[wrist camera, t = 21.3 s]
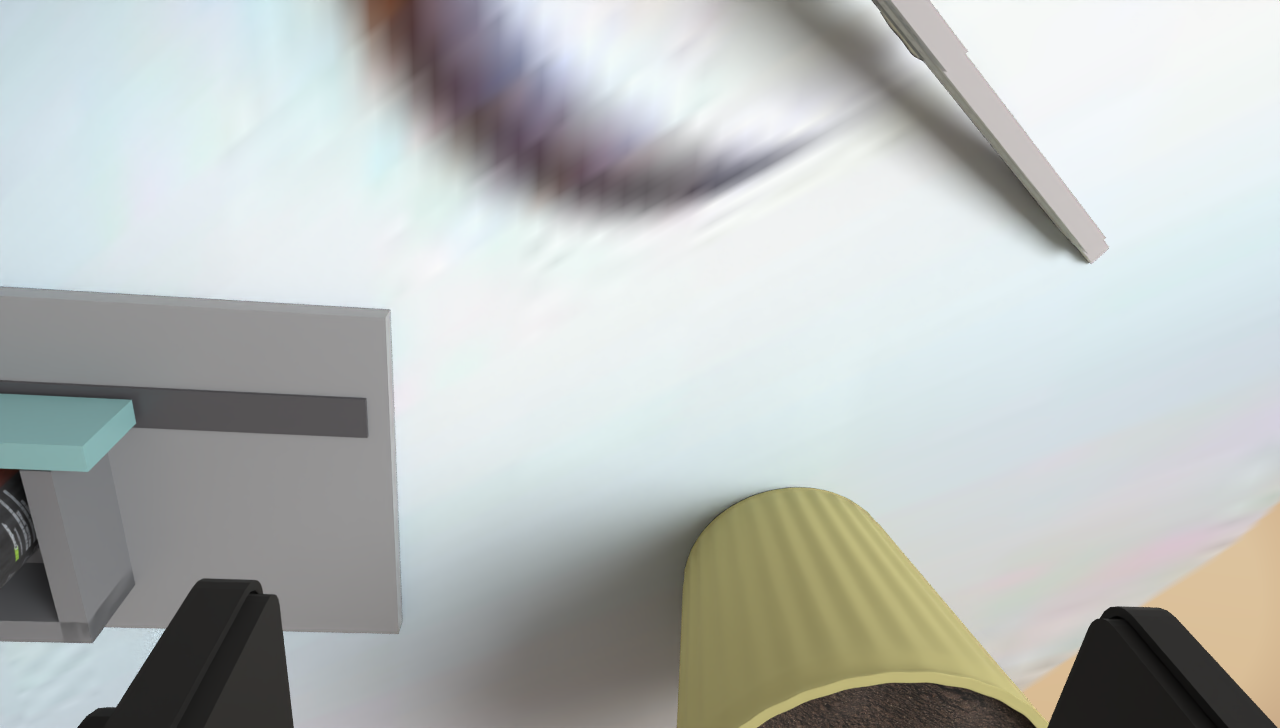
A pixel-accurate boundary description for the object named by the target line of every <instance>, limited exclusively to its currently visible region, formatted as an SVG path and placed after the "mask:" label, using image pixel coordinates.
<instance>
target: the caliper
mask: <svg viewBox="0 0 1280 728" xmlns="http://www.w3.org/2000/svg"><path fill="white" fill-rule="evenodd" d="M872 1H873V3H874V4H875V5H876V6H877V8H878V9H879V10H880V11H881V12H880V13H881V14H882V16H883V17H884V19H885V20H886V22H887V23H888V25H889V26H890V28H891V29H892V30H893V31H894V33H895V34H896V35H897V36H898V37H899V38H900V39H901V40H902V42H903V43H904V45H905V46H906V48H907V49H908V50H909V52H910V53H911V54H912V55H913V56H914V57H916V58H918V59H920V60H922V61H924V63H925V64H926V65H927V66H928V68H929V69H930V70H931V71H932V72H933V74H934V75H935V76H936V77H937V79H938V80H939V81H940V82H941V84H942V85H943V86H944V87H945V89H946V90H947V91H948V92H949V94H950V95H951V96H952V97H953V99H954V100H955V101H956V102H957V103H958V105H959V106H960V107H961V108H962V110H963V111H964V112H965V113H966V115H967V116H968V117H969V118H970V120H971V121H972V122H973V123H974V125H975V126H976V127H977V128H978V130H979V131H980V132H981V133H982V134H983V136H984V137H985V138H986V139H987V141H988V142H989V143H990V144H991V146H992V147H993V148H994V149H995V151H996V152H997V153H998V154H999V156H1000V157H1001V158H1002V159H1003V161H1004V162H1005V163H1006V164H1007V166H1008V167H1009V168H1010V169H1011V171H1012V172H1013V173H1014V174H1015V176H1016V177H1017V178H1018V179H1019V181H1020V182H1021V183H1022V184H1023V186H1024V187H1025V188H1026V189H1027V191H1028V192H1029V193H1030V194H1031V196H1032V197H1033V198H1034V199H1035V201H1036V202H1037V203H1038V204H1039V206H1040V207H1041V208H1042V209H1043V211H1044V212H1045V213H1046V214H1047V215H1048V217H1049V218H1050V219H1051V220H1052V222H1053V223H1054V224H1055V225H1056V226H1057V227H1058V228H1059V230H1060V231H1061V232H1062V233H1063V234H1064V235H1065V236H1066V237H1067V238H1068V240H1069V241H1070V242H1071V243H1072V244H1073V245H1075V246H1076V247H1077V249H1078V250H1079V251H1080V252H1081V254H1082V255H1083V256H1084V257H1085V259H1086V260H1087V261H1088V262H1089V263H1090V264H1092V263H1093V262H1094V261H1096V260H1097V259H1098V258H1099V257H1100V256H1101V255H1102V254H1103V253H1105V252H1106V251H1107V250H1108V249H1109V248H1108V247H1109V246H1108V245H1107V244H1106V242H1105V241H1104V239H1105V238H1106V237H1105V236H1104V235H1103V233H1102V232H1101V231H1100V229H1099V228H1098V227H1097V225H1096V224H1095V223H1094V221H1093V220H1092V219H1091V217H1090V216H1089V215H1088V213H1087V212H1086V211H1085V210H1084V208H1083V207H1082V206H1081V204H1080V203H1079V202H1078V200H1077V199H1076V198H1075V196H1074V195H1073V194H1072V192H1071V191H1070V190H1069V188H1068V187H1067V186H1066V185H1065V183H1064V182H1063V181H1062V179H1061V178H1060V177H1059V175H1058V174H1057V173H1056V171H1055V170H1054V169H1053V168H1052V166H1051V165H1050V164H1049V162H1048V161H1047V160H1046V158H1045V157H1044V156H1043V154H1042V153H1041V152H1040V150H1039V149H1038V148H1037V147H1036V145H1035V144H1034V143H1033V141H1032V140H1031V139H1030V137H1029V136H1028V135H1027V133H1026V132H1025V131H1024V130H1023V128H1022V127H1021V126H1020V124H1019V123H1018V122H1017V120H1016V119H1015V118H1014V116H1013V115H1012V114H1011V113H1010V111H1009V110H1008V109H1007V107H1006V106H1005V105H1004V103H1003V102H1002V101H1001V99H1000V98H999V97H998V96H997V94H996V93H995V92H994V90H993V89H992V88H991V86H990V85H989V84H988V82H987V81H986V80H985V79H984V77H983V76H982V75H981V73H980V72H979V71H978V69H977V68H976V67H975V65H974V64H973V63H972V61H971V60H970V59H969V58H968V56H967V55H966V53H967V52H968V51H967V49H966V48H965V47H964V45H963V44H962V43H961V41H960V40H959V39H958V38H957V36H956V35H955V34H954V32H953V31H952V30H951V28H950V27H949V26H948V24H947V23H946V22H945V20H944V19H943V18H942V16H941V15H940V14H939V12H938V11H937V10H936V8H935V7H934V6H933V4H932V3H931V2H930V0H872Z"/></svg>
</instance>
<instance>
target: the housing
mask: <svg viewBox="0 0 1280 728" xmlns="http://www.w3.org/2000/svg"><path fill="white" fill-rule="evenodd" d="M0 394H21V395H42V396H63V397H84V398H105V399H126V400H132V404H133V409H134V415H135V420H136V424H135V425H134V426H133V427H132V428H131V429H130V430H129V431H128V432H127V433H126V434H125V435H124V436H123V437H122V438H121V439H120V440H119V441H118V442H117V443H116V444H115V445H114V446H113V447H112V448H111V449H110V450H109V451H108V452H107V453H106V454H105V455H104V456H103V457H102V458H101V459H100V460H99V461H98V462H97V463H96V464H95V465H94V466H93V467H92V468H91V469H90V470H89V471H88V472H78V471H53V470H28V469H21V470H19V471H20V475H21V479H22V482H23V486H24V490H25V494H26V498H27V501H28V505H29V509H30V513H31V517H32V520H33V524H34V528H35V532H36V536H37V539H38V543H39V548H38V549H37V551H36V552H35V553H34V554H33V555H32V556H31V557H30V558H29V559H28V560H27V561H26V562H25V563H24V565H23V566H22V567H21V568H20V569H19V570H18V571H17V572H16V573H15V574H14V576H12V577H11V578H10V580H9V581H8V582H7V583H6V584H5V585H4V586H3V587H2V588H1V589H0V641H13V642H61V643H93V642H94V640H95V639H96V638H97V636H98V635H99V634H100V632H101V631H102V630H103V628H104V627H120V628H164V629H166V628H167V627H168V625H169V623H170V622H171V620H172V619H173V617H174V616H175V614H176V612H177V611H178V609H179V608H180V606H181V605H182V603H183V601H184V600H185V598H186V597H187V595H188V593H189V592H190V590H191V589H192V587H193V586H194V585H195V584H196V582H197V581H199V580H201V579H203V578H211V579H243V580H257V581H259V582H260V584H261V586H262V589H263V594H274V595H277V597H278V599H279V604H280V612H281V621H282V630H283V631H297V632H341V633H385V634H399V631H400V628H401V624H402V596H401V570H400V545H399V520H398V494H397V469H396V443H395V418H394V392H393V367H392V341H391V316H390V310H386V309H369V308H352V307H335V306H318V305H301V304H285V303H268V302H251V301H234V300H217V299H200V298H183V297H166V296H149V295H132V294H115V293H99V292H82V291H65V290H48V289H31V288H14V287H0Z"/></svg>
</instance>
